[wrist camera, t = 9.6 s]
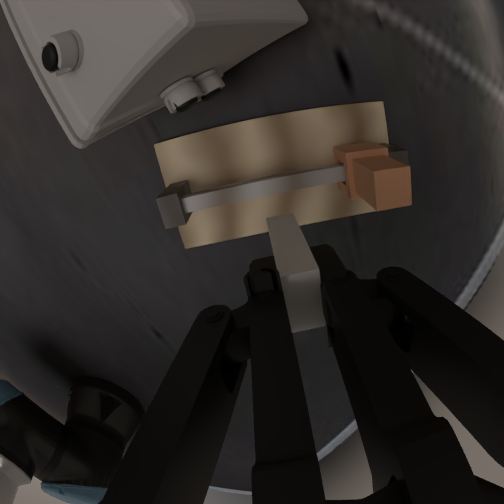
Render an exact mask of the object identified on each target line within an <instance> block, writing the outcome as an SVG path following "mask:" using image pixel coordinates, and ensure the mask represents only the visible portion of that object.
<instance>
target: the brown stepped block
mask: <svg viewBox="0 0 504 504" xmlns="http://www.w3.org/2000/svg"><path fill="white" fill-rule="evenodd" d="M333 153H334V160H335V164H337V163H344V170H345V178H346V181H342V182H338V188H339V189H340V190H341V191H342V192H343V193H344V194H345V195H346V196H347V197H348V198H349V199H350V200H355V199H360V198H362V199H364V200H365V201H366V202H367V203H368V204H369V205H370V206H372V207H373V208H374V209H375V210H376V211H381V210H387V209H392V208H398V207H403V206H409V205H412V193H411V173H410V166H408V165H406V164H404V163H402V162H399V161H397V160H395V159H392V158H390V157H389V155H388V147H385V146H382V145H379V144H376V143H373V142H364V143H356V144H349V145H342V146H335V147H333Z"/></svg>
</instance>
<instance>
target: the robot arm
mask: <svg viewBox="0 0 504 504" xmlns="http://www.w3.org/2000/svg"><path fill="white" fill-rule="evenodd" d="M266 221H267V225H268V230H269V235H270V240H271V245H272V249H273V254H274V256H270V257H265V258H261V259H256V260H253V261H252V263H251V264H250V266H249V268H250V271H249V272H248V273H247V274H246V275H245V276H244V283H245V287H246V291H247V294H248V302H247V303H246V304H244V305H243V306H241V307H239V308H237V309H235V310H232V311H231V310H230V308H229V307H227V306H225V305H214V306H210V307H208V308H206V309H204V310H203V311H201V312H200V313H199V315H198V316H197V318H196V320H195V321H194V323H193V325H192V327H191V329H190V331H189V333H188V334H187V336H186V338H185V340H184V342H183V344H182V346H181V348H180V349H179V351H178V353H177V355H176V357H175V359H174V361H173V363H172V365H171V366H170V368H169V370H168V372H167V374H166V376H165V378H164V380H163V382H162V384H161V385H160V387H159V389H158V391H157V393H156V395H155V397H154V399H153V401H152V403H151V405H150V407H149V408H148V410H147V412H146V414H145V416H144V418H143V410H142V407H141V406H140V404H139V403H138V401H137V400H136V399H135V398H134V397H132V396H131V395H130V394H129V393H127V392H126V391H125V390H123V389H121V388H120V387H118V386H116V385H114V384H112V383H109V382H107V381H104V380H100V379H96V378H89V377H84V378H79V379H77V380H75V381H74V383H73V384H72V386H71V389H70V391H69V395H68V399H69V403H68V411H67V420H66V423H65V425H63V424H62V423H60V422H59V421H58V420H56V419H55V418H53V417H52V416H51V415H49V414H48V413H47V412H45V411H44V410H43V409H42V408H40V407H39V406H38V405H37V404H35V403H34V402H33V401H32V400H30V399H29V398H28V397H27V396H26V395H24V393H23V392H20V391H19V390H18V389H16V388H15V387H14V386H13V385H11V384H10V383H9V382H8V381H6V380H2V379H1V380H0V504H13V501H14V498H15V495H16V492H17V489H18V487H19V486H20V485H24V484H29V483H31V480H32V477H33V476H35V477H36V478H38V479H39V480H41V481H42V483H41V489H42V490H43V491H44V492H46V493H47V494H49V495H51V496H53V497H55V498H57V499H60V500H62V501H65V502H68V503H71V504H203V502H204V500H205V497H206V494H207V490H208V488H209V485H210V482H211V479H212V476H213V473H214V470H215V466H216V463H217V460H218V457H219V454H220V451H221V448H222V445H223V442H224V438H225V435H226V432H227V429H228V426H229V422H230V419H231V416H232V413H233V410H234V406H235V403H236V400H237V396H238V393H239V390H240V387H241V383H242V380H243V377H244V373H245V370H246V367H247V360H248V359H250V358H251V369H252V391H253V412H254V433H255V454H256V462H255V465H254V466H253V467H252V503H253V504H504V488H503V487H500V486H498V485H496V484H493V483H491V482H489V481H486V480H484V479H482V478H480V477H478V476H475V475H474V474H473V472H472V470H471V467H470V465H469V463H468V460H467V458H466V456H465V454H464V452H463V449H462V447H461V446H460V443H459V441H458V439H457V437H456V435H455V433H454V431H453V429H452V427H451V425H450V424H449V422H448V420H446V419H445V418H444V417H436V416H435V415H434V414H433V412H432V410H431V408H430V406H429V404H428V402H427V400H426V398H425V396H424V394H423V392H422V390H421V388H420V386H419V385H418V383H417V381H416V379H415V377H414V375H413V373H412V371H413V372H414V373H415V374H416V375H417V376H418V377H419V378H420V379H421V380H422V381H423V382H424V383H425V385H427V387H428V388H429V389H430V390H431V391H432V392H433V393H434V394H435V395H436V396H437V397H438V398H439V399H440V401H441V402H442V403H443V404H444V405H445V406H446V407H447V408H448V409H449V410H450V411H451V412H452V414H453V415H454V416H455V417H456V418H457V419H458V420H459V421H460V422H461V423H462V425H463V426H464V427H465V428H466V429H467V430H468V431H469V432H470V433H471V435H472V436H473V437H474V438H475V439H476V440H477V441H478V442H479V444H480V445H481V446H482V447H483V448H484V449H485V450H486V452H487V453H488V454H489V455H490V456H491V457H492V458H493V459H494V460H495V461H496V462H497V463H498V464H500V465H501V466H502V467H504V340H502V339H501V338H500V337H499V336H497V335H496V334H495V333H493V332H492V331H491V330H490V329H488V328H487V327H485V326H484V325H483V324H482V323H480V322H479V321H478V320H476V319H475V318H474V317H472V316H471V315H469V314H468V313H467V312H465V311H464V310H463V309H461V308H460V307H459V306H457V305H456V304H454V303H453V302H452V301H450V300H449V299H448V298H446V297H445V296H443V295H442V294H440V293H439V292H438V291H436V290H435V289H433V288H432V287H430V286H429V285H428V284H426V283H425V282H423V281H422V280H420V279H419V278H417V277H416V276H414V275H413V274H411V273H410V272H408V271H407V270H405V269H403V268H400V267H387V268H384V269H382V270H380V271H379V272H378V273H377V279H371V280H363V279H358V278H357V276H356V275H355V274H354V273H353V272H352V271H349V270H346V269H345V267H344V265H343V264H342V262H341V260H340V259H339V257H338V255H337V254H336V252H335V251H334V249H333V248H332V247H330V246H329V245H327V244H324V245H319V246H314V247H309V246H308V244H307V242H306V240H305V237H304V235H303V233H302V231H301V229H300V227H299V225H298V223H297V221H296V219H295V217H294V215H293V213H287V214H283V215H278V216H273V217H268V218H266ZM407 316H408V317H407ZM325 320H326V322H327V330H328V341H329V347H333V350H334V353H335V356H336V359H337V362H338V365H339V368H340V371H341V374H342V378H343V381H344V384H345V387H346V390H347V393H348V396H349V399H350V403H351V406H352V409H353V412H354V416H355V419H356V422H357V425H358V429H359V432H360V435H361V439H362V442H363V446H364V449H365V452H366V456H367V459H368V463H369V467H370V470H371V474H372V483H373V492H374V493H373V494H371V495H369V496H367V497H366V498H363V499H358V500H325V495H324V489H323V484H322V478H321V473H320V468H319V463H318V458H317V454H316V449H315V444H314V439H313V434H312V428H311V423H310V418H309V413H308V408H307V403H306V398H305V393H304V388H303V383H302V378H301V373H300V369H299V364H298V359H297V354H296V349H295V345H294V340H293V335H292V333H295V332H300V331H304V330H309V329H313V328H318V327H322V326H325ZM411 370H412V371H411ZM142 418H143V420H142ZM137 429H138V430H137ZM136 430H137V432H136V434H135V436H134V438H133V440H132V441H131V443H130V445H129V447H128V449H127V451H126V453H125V455H124V457H123V453H124V449H125V446H126V444H127V443H128V441H129V440H130V438H131V437H132V436H133V434H134V433H135V431H136ZM122 457H123V459H122Z"/></svg>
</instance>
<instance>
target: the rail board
mask: <svg viewBox="0 0 504 504" xmlns="http://www.w3.org/2000/svg"><path fill="white" fill-rule="evenodd" d="M364 142H373V143H376V144H379V145H382V146H385V147H388V155H389V157H390V158H392V159H395V160H397V161H399V162H402V163H404V164H406V165H408V166H409V163H408V151H407V150H405V149H402V148H399V147H396V146H393V145H390V144H389V141H388V133H387V125H386V118H385V111H384V105H383V101H377V102H365V103H354V104H345V105H336V106H328V107H320V108H313V109H306V110H300V111H294V112H288V113H282V114H276V115H271V116H266V117H260V118H255V119H251V120H246V121H241V122H237V123H232V124H228V125H224V126H219V127H215V128H211V129H207V130H203V131H199V132H196V133H192V134H188V135H184V136H181V137H177V138H174V139H170V140H167V141H164V142H160V143H157V144H155V145H154V147H155V151H156V154H157V158H158V162H159V165H160V169H161V172H162V175H163V179H164V182H165V186H166V189H165V190H164V191H163V192H162V193H161V194H160V195H159V196H158V197H157V198H156V201H157V204H158V207H159V210H160V213H161V216H162V219H163V222H164V225H165V228H166V229H169V228H173V227H178V228H179V231H180V234H181V237H182V240H183V243H184V246H185V249H187V248H192V247H197V246H202V245H206V244H211V243H216V242H221V241H226V240H230V239H235V238H240V237H245V236H250V235H255V234H260V233H265V232H269V230H268V225H267V221H266V218H268V217H273V216H278V215H283V214H287V213H293V215H294V217H295V219H296V221H297V223H298V225H299V226H300V225H305V224H310V223H316V222H321V221H326V220H331V219H336V218H342V217H347V216H352V215H358V214H363V213H368V212H374V211H376V210H375V209H374V208H373V207H372V206H370V205H369V204H368V203H367V202H366V201H365V200H364V199H362V198H360V199H355V200H350V199H349V198H348V197H347V196H346V195H345V194H344V193H343V192H342V191H341V190H340V189H339V188H338V182H342V181H346V178H345V170H344V163H337V164H335V160H334V153H333V147H335V146H342V145H349V144H356V143H364Z"/></svg>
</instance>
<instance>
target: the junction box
mask: <svg viewBox="0 0 504 504" xmlns="http://www.w3.org/2000/svg"><path fill="white" fill-rule="evenodd" d="M0 3H1V6H2V8H3V11H4V13H5V16H6V18H7V20H8V23H9V25H10V27H11V29H12V32H13V34H14V36H15V38H16V41H17V43H18V45H19V47H20V49H21V51H22V53H23V55H24V57H25V59H26V61H27V64H28V66H29V68H30V70H31V71H32V73H33V75H34V77H35V79H36V81H37V83H38V85H39V87H40V89H41V91H42V92H43V94H44V96H45V98H46V100H47V102H48V103H49V105H50V107H51V109H52V111H53V112H54V114H55V116H56V118H57V119H58V121H59V123H60V125H61V126H62V128H63V130H64V131H65V133H66V135H67V136H68V138H69V140H70V141H71V143H72V144H73V145H74V146H75V147H77V148H79V149H83V148H86V147H88V146H90V145H91V144H93V143H95V142H96V141H98V140H100V139H102V138H103V137H105V136H107V135H109V134H111V133H113V132H114V131H116V130H118V129H120V128H122V127H124V126H126V125H128V124H130V123H131V122H133V121H135V120H137V119H139V118H141V117H143V116H146V115H148V114H150V113H152V112H154V111H156V110H158V109H160V108H162V107H165V106H166V107H167V108H168V110H169V111H170V113H171V114H172V113H175V112H183V111H185V110H187V109H189V108H190V107H192V106H193V105H195V104H196V103H197V102H199V101H201V100H202V101H207V100H209V99H211V98H213V97H215V96H216V95H218V94H219V93H220V92H221V88H223V87H224V86H225V84H224V82H223V81H222V79H221V78H222V76H223V73H224V72H226V71H227V70H229V69H230V68H232V67H233V66H235V65H236V64H238V63H239V62H241V61H242V60H244V59H246V58H247V57H249V56H250V55H252V54H254V53H255V52H257V51H258V50H260V49H262V48H263V47H265V46H267V45H268V44H270V43H272V42H274V41H275V40H277V39H279V38H281V37H282V36H284V35H286V34H288V33H290V32H291V31H293V30H295V29H297V28H299V27H301V26H303V25H305V24H306V23H307V21H308V16H307V14H306V12H305V11H304V9H303V8H302V6H301V5H300V3H299V2H298V0H0Z"/></svg>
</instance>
